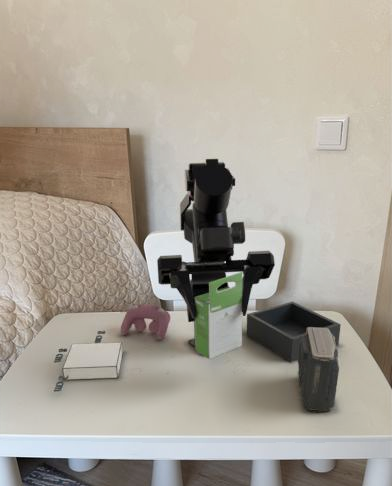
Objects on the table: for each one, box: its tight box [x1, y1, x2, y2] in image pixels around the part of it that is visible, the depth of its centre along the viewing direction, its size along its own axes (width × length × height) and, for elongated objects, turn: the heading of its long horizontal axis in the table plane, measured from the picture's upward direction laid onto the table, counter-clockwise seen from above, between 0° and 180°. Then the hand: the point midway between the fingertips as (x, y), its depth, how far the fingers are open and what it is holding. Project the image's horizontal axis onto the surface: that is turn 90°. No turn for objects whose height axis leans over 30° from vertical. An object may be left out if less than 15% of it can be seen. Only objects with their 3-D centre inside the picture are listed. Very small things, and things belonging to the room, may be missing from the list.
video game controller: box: [120, 303, 171, 341], centre depth 107 cm, size 10×5×7 cm, turn 71°
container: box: [53, 330, 124, 392], centre depth 95 cm, size 20×12×3 cm, turn 2°
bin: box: [246, 301, 341, 363], centre depth 103 cm, size 14×12×5 cm
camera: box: [297, 327, 340, 413], centre depth 84 cm, size 11×6×10 cm, turn 172°
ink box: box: [194, 272, 243, 360], centre depth 83 cm, size 7×4×13 cm, turn 126°
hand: (219, 316), depth 82 cm, fingers closed on ink box, 8 cm apart
